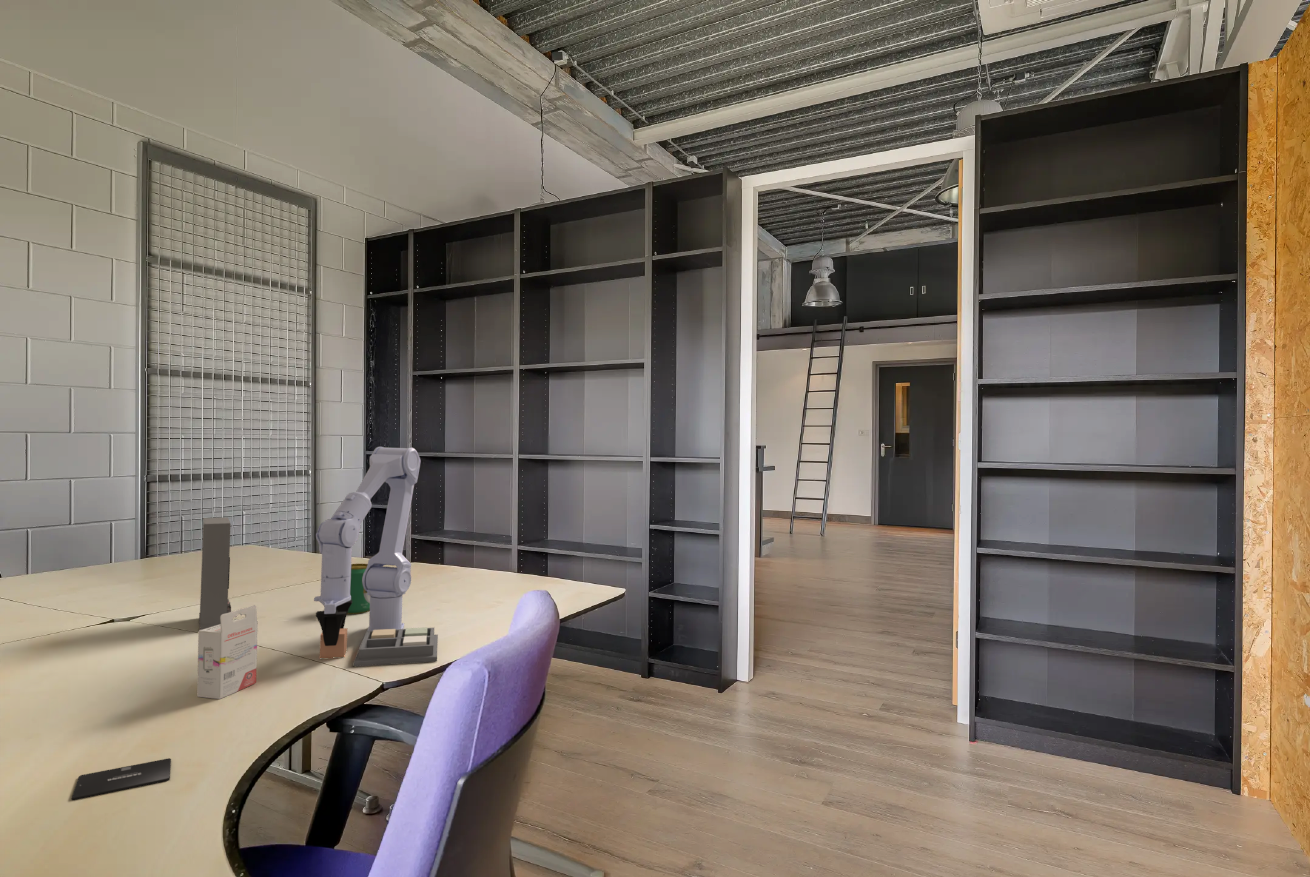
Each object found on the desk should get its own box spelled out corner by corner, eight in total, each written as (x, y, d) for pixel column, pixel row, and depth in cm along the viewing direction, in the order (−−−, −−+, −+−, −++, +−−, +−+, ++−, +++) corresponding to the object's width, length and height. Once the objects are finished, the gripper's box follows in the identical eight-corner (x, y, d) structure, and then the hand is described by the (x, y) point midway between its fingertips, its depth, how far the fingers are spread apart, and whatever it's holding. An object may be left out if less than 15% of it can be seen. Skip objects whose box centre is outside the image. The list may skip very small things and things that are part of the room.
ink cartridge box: (234, 680, 128) (237, 602, 128) (257, 683, 127) (259, 604, 127) (194, 697, 119) (197, 612, 119) (218, 700, 118) (221, 615, 118)
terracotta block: (323, 652, 146) (324, 629, 146) (346, 651, 147) (347, 628, 147) (319, 659, 142) (320, 635, 142) (343, 657, 143) (344, 633, 143)
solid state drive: (78, 780, 91) (79, 775, 91) (171, 762, 96) (171, 757, 96) (71, 803, 85) (71, 798, 85) (169, 783, 90) (169, 778, 90)
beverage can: (364, 615, 178) (366, 568, 178) (334, 614, 178) (335, 567, 178) (377, 607, 186) (378, 563, 186) (348, 606, 186) (349, 562, 186)
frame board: (363, 642, 154) (363, 627, 154) (437, 638, 158) (438, 623, 158) (353, 666, 137) (354, 649, 137) (436, 661, 142) (437, 644, 142)
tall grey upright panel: (230, 628, 162) (234, 523, 162) (199, 631, 158) (203, 524, 159) (228, 615, 173) (231, 517, 174) (199, 618, 170) (202, 517, 170)
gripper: (321, 570, 150) (318, 632, 150) (308, 583, 137) (306, 651, 136) (355, 569, 152) (353, 630, 152) (347, 582, 139) (344, 649, 138)
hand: (333, 640), depth 144 cm, fingers open, 7 cm apart
